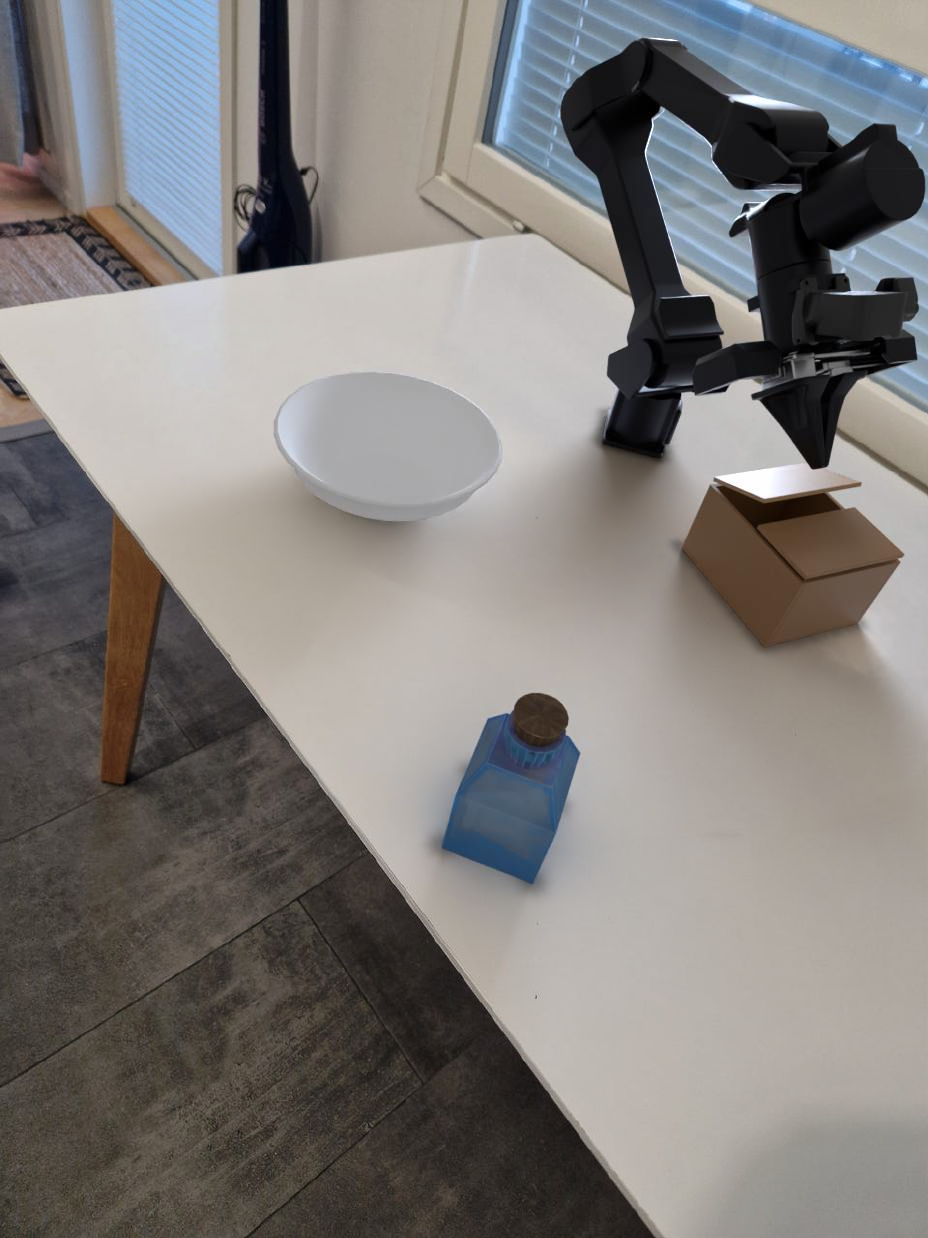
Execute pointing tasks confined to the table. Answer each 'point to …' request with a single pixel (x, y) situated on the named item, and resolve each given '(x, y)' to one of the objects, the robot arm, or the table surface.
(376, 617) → the table surface
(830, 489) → the flap
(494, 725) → the perfume bottle
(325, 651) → the table surface
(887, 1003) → the table surface
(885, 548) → the carton
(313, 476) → the bowl
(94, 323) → the table surface
